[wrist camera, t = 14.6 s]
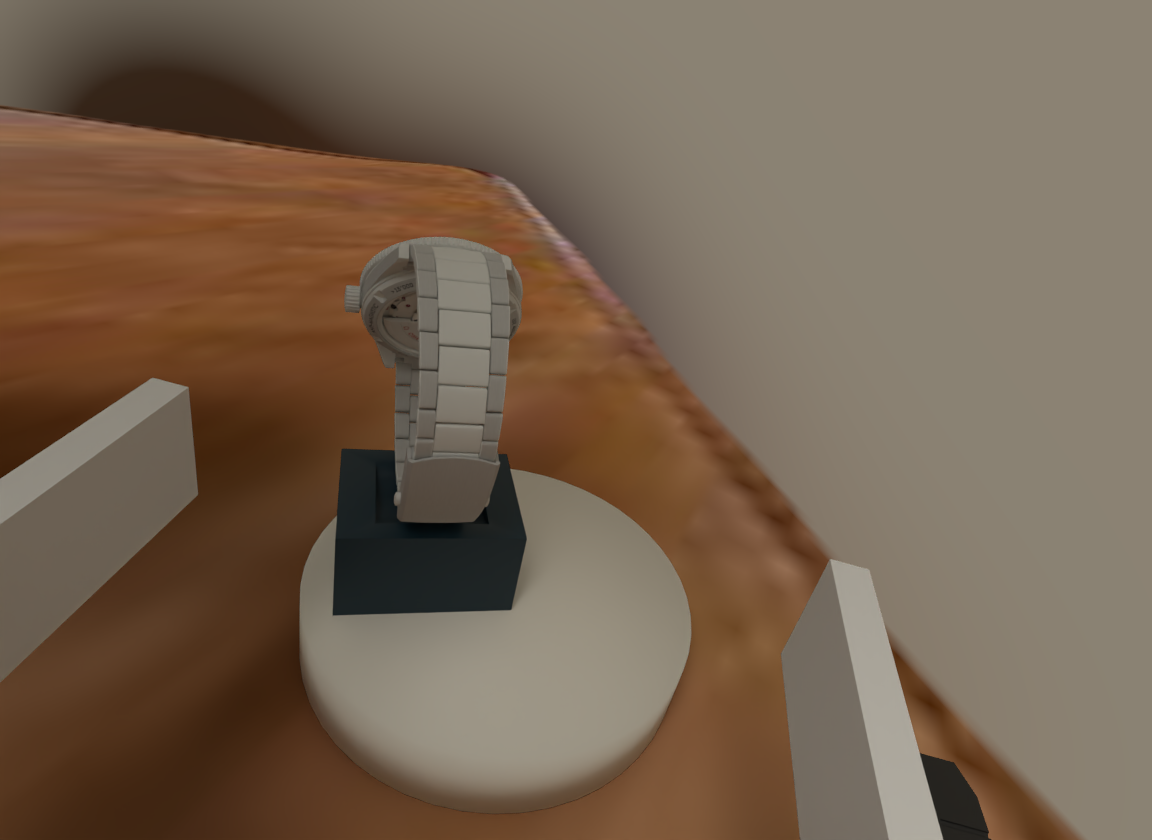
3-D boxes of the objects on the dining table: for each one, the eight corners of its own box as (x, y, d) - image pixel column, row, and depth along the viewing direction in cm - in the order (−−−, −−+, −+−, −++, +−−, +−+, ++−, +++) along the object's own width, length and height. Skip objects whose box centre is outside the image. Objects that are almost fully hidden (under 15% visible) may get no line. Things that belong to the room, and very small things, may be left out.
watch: (487, 488, 29) (535, 216, 23) (520, 654, 22) (597, 331, 16) (338, 485, 27) (350, 191, 21) (325, 663, 20) (337, 309, 15)
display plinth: (205, 672, 22) (199, 616, 21) (444, 474, 33) (450, 429, 32) (582, 907, 19) (603, 857, 18) (712, 602, 29) (731, 556, 28)
